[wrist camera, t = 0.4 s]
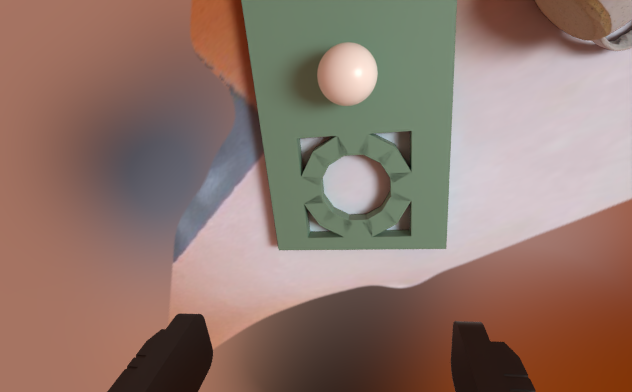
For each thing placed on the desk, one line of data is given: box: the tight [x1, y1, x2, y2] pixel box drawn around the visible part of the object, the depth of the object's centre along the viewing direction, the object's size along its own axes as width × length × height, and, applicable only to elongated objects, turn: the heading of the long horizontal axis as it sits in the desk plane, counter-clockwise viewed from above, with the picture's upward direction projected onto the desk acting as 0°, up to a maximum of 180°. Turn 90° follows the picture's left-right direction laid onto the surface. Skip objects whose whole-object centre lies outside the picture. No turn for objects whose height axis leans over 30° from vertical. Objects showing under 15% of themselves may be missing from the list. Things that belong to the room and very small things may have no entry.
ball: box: [317, 42, 378, 106], centre depth 29 cm, size 5×5×5 cm
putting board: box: [241, 0, 457, 250], centre depth 33 cm, size 26×18×2 cm
